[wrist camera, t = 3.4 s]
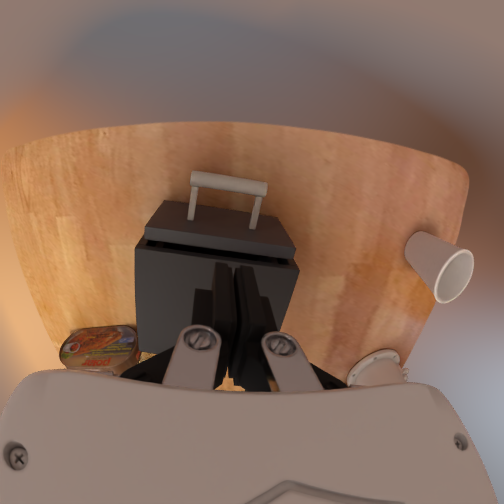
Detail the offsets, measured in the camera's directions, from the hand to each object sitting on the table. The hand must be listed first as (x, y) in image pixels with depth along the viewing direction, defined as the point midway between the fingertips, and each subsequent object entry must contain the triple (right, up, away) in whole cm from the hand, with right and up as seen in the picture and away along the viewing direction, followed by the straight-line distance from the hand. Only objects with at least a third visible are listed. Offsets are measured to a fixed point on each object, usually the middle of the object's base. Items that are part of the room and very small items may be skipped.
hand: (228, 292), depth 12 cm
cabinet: (-4, 0, +23) cm, 23 cm away
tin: (-23, -11, +26) cm, 37 cm away
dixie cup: (+28, +3, +26) cm, 38 cm away
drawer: (-3, +4, +20) cm, 21 cm away
